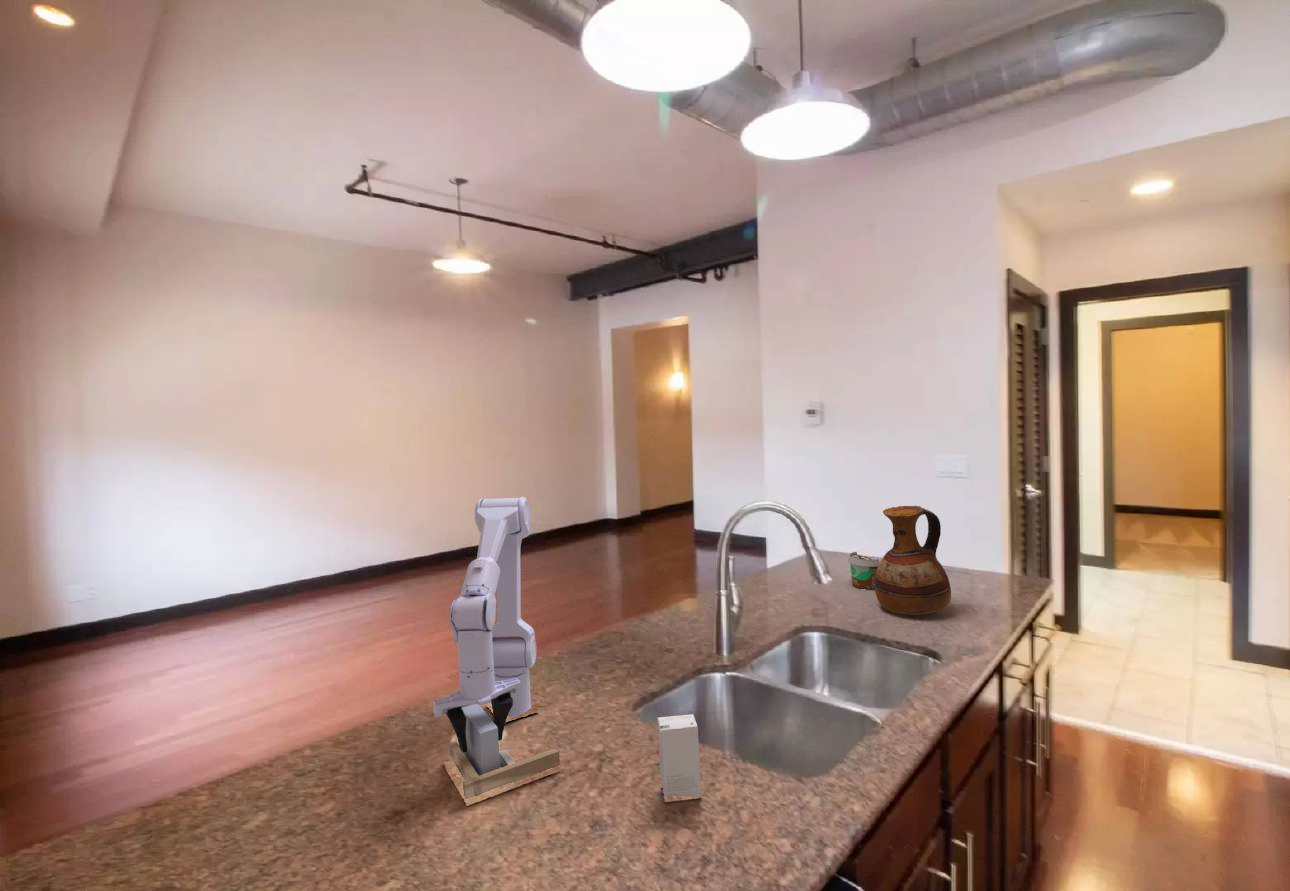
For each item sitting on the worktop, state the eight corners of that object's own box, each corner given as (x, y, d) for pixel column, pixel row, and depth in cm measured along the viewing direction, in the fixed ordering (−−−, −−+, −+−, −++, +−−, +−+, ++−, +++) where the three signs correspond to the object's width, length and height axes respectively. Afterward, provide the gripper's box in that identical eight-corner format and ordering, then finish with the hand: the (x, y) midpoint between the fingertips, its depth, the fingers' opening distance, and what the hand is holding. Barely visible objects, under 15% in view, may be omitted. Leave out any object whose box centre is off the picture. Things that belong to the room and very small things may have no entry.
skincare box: (697, 784, 101) (694, 711, 101) (702, 801, 97) (699, 726, 96) (659, 787, 101) (656, 715, 100) (663, 805, 96) (660, 729, 96)
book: (463, 756, 111) (460, 707, 111) (480, 750, 113) (477, 702, 112) (483, 786, 102) (479, 733, 101) (500, 780, 104) (497, 727, 103)
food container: (840, 583, 207) (839, 553, 206) (856, 580, 208) (855, 551, 208) (863, 593, 195) (863, 562, 194) (880, 591, 197) (880, 559, 196)
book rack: (443, 765, 110) (441, 745, 109) (529, 736, 118) (528, 717, 118) (466, 807, 98) (465, 785, 98) (560, 771, 106) (559, 751, 106)
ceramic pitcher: (860, 603, 185) (859, 503, 183) (916, 595, 191) (915, 498, 189) (907, 625, 167) (905, 514, 165) (967, 615, 173) (967, 507, 171)
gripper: (438, 686, 98) (444, 769, 99) (525, 663, 106) (530, 740, 107) (427, 671, 104) (432, 749, 105) (511, 649, 112) (515, 723, 113)
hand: (481, 743), depth 106 cm, fingers open, 5 cm apart
